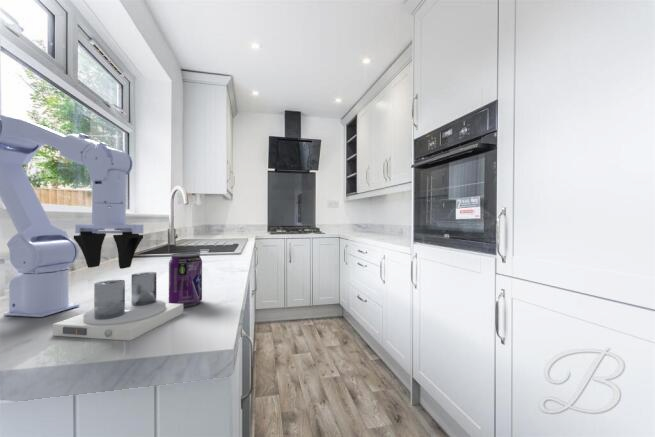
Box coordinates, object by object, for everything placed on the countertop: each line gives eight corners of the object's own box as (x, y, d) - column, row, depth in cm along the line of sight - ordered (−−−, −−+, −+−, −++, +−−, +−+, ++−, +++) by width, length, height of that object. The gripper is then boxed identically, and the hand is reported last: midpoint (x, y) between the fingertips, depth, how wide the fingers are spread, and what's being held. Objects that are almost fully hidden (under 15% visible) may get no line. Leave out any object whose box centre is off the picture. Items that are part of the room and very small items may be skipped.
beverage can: (188, 309, 64) (188, 256, 64) (161, 307, 65) (161, 255, 65) (208, 300, 71) (208, 252, 71) (183, 299, 72) (183, 251, 72)
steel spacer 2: (126, 305, 58) (126, 275, 58) (140, 299, 62) (140, 271, 62) (147, 305, 58) (147, 275, 58) (160, 299, 62) (160, 271, 62)
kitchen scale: (50, 336, 49) (50, 320, 49) (121, 309, 64) (121, 297, 64) (128, 341, 47) (128, 324, 47) (183, 313, 62) (183, 300, 62)
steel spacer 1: (87, 319, 50) (87, 284, 50) (109, 310, 54) (110, 279, 54) (109, 320, 49) (110, 285, 49) (130, 312, 54) (130, 279, 54)
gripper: (153, 204, 64) (153, 265, 64) (97, 204, 66) (96, 263, 66) (127, 202, 57) (127, 270, 57) (65, 203, 59) (65, 268, 59)
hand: (109, 267), depth 61 cm, fingers open, 7 cm apart
